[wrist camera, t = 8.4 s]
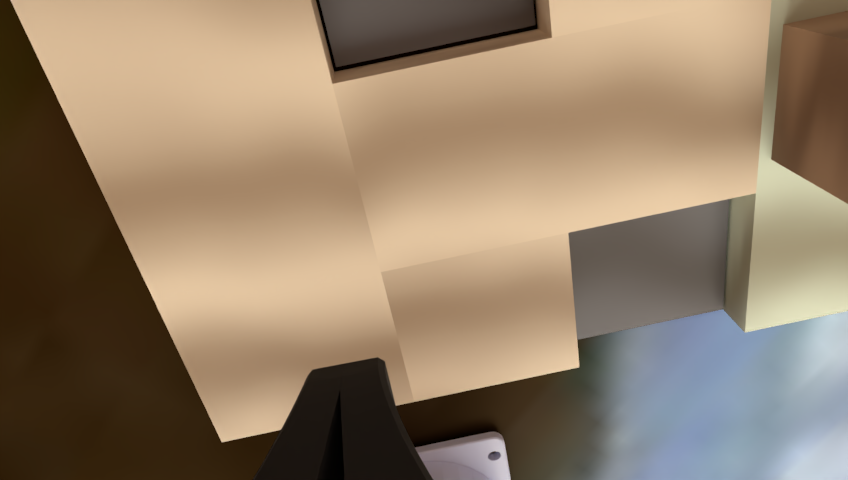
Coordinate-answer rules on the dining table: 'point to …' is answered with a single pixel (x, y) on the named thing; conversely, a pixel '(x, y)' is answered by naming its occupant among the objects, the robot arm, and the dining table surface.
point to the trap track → (439, 180)
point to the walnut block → (814, 102)
